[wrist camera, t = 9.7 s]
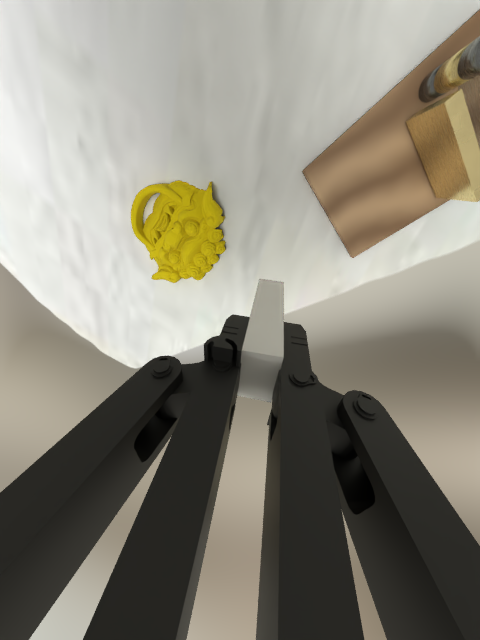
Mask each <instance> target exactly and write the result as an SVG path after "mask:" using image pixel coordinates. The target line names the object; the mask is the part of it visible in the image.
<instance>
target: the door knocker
mask: <svg viewBox="0 0 480 640" xmlns="http://www.w3.org/2000/svg"><path fill="white" fill-rule="evenodd" d="M155 193H160V195H159V197H158V198H157V199H156V201H155V203H154V206H153V213H152V214H150V215H149V216H148V218H147V219H146V221H145V224H144V223H143V212H144V208H145V206H146V204H147V202H148V200H149V199H150V197H151V196H152V195H154V194H155ZM222 212H223V210H222V209H221V208H220V206H219V205H218V204H217V203H216V202H215V200H214V201H213V198H212V182H210V183H209V186H208V188H207V190H205V191H204V190H203V189H201V190H200V189H198V188H196V187H195V186H193V185H189V184H188V183H186V182H182V181H180V180H178V181H175V182H172V183H171V184H155V185H150V186H147V187H146V188H144V189H143V190H141V191H140V192H139V193H138V194H137V195H136V197H135V200H134V202H133V205H132V210H131V223H132V228H133V231H134V233H135V235H136V237H137V238H138V239H139V240H140V241H141V242H142V243H143V244H145V246H146V248H147V250H148V251H149V252H150V258H151V260H152V259H153V258H154V259H155V261H156V262H157V264H158V266H159V269H158V272H157V273H155V274H153V275H152V279H154V280H158V279H165V280H168V281H170V282H173V283H175V282H177V281H179V280H180V279H181V278H184V279H188V278H190V277H193V278H194V279H196V280H201V279H202V278H203V277H204V276H205V273H206V272H209V271H210V270H211V269H212V267H213V266H211V265H212V264H215V263H217V262H218V260H219V258H218V255H216V254H222V253H223V252H224V251H225V250H226V248H225V247H224V246H225V243H226V242H225V241H220V240H222V239H223V237H224V236H223V233H222V230H221V229H220V230H219V229H215V228H217V227H218V226H219V225H220V224H221V223H222V222H223V221H224V218H225V216H224V218H223V216H221V214H222ZM220 231H221V232H220ZM221 233H222V237H221ZM219 241H220V242H219Z"/></svg>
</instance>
